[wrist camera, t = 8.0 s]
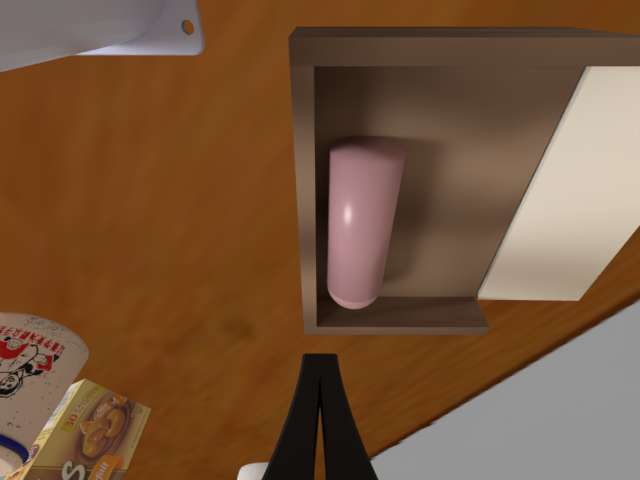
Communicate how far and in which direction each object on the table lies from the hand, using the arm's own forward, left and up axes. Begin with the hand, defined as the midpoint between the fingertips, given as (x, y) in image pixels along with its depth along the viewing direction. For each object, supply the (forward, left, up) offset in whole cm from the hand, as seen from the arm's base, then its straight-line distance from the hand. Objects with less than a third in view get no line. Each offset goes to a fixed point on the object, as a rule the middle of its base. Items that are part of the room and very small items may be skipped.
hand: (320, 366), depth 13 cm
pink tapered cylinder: (-3, +2, -7) cm, 8 cm away
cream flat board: (-3, +11, -7) cm, 14 cm away
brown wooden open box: (-3, +5, -9) cm, 11 cm away
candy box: (+24, -24, -10) cm, 35 cm away
